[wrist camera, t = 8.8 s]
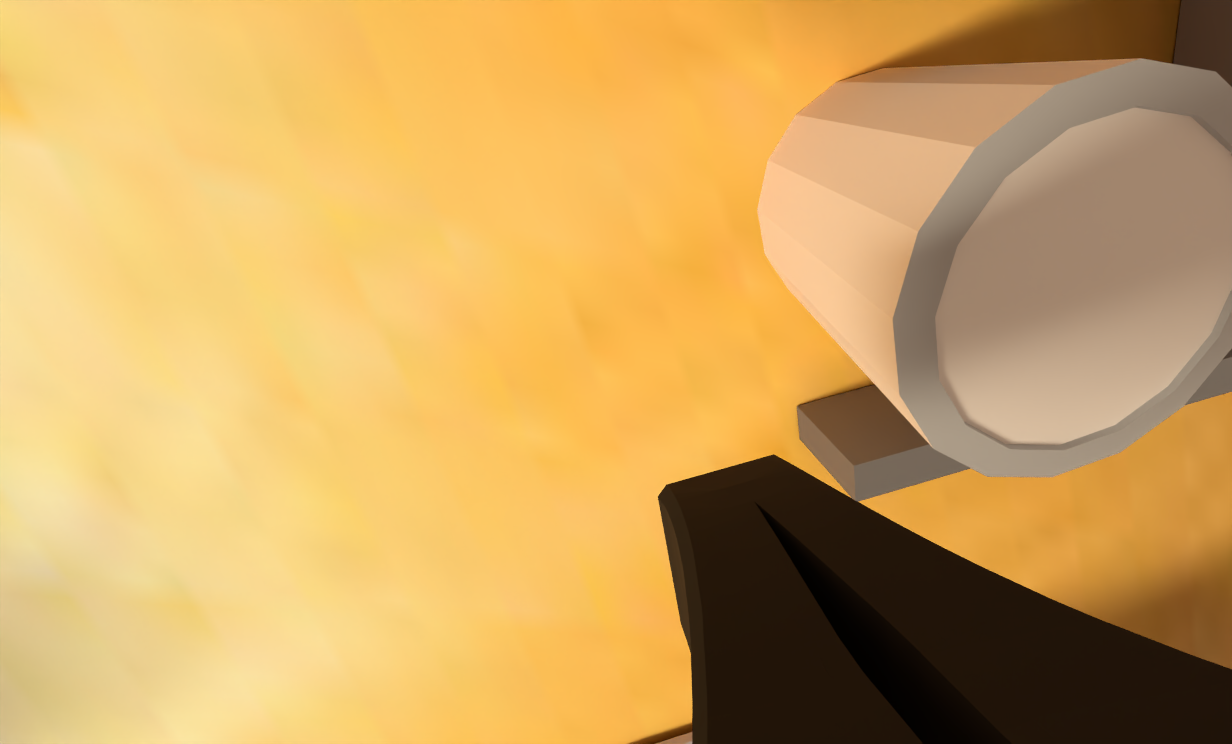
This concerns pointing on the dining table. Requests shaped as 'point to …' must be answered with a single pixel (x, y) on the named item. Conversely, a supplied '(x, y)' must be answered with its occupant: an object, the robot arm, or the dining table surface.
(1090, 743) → the robot arm
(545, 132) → the dining table surface
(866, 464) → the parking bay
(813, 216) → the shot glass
